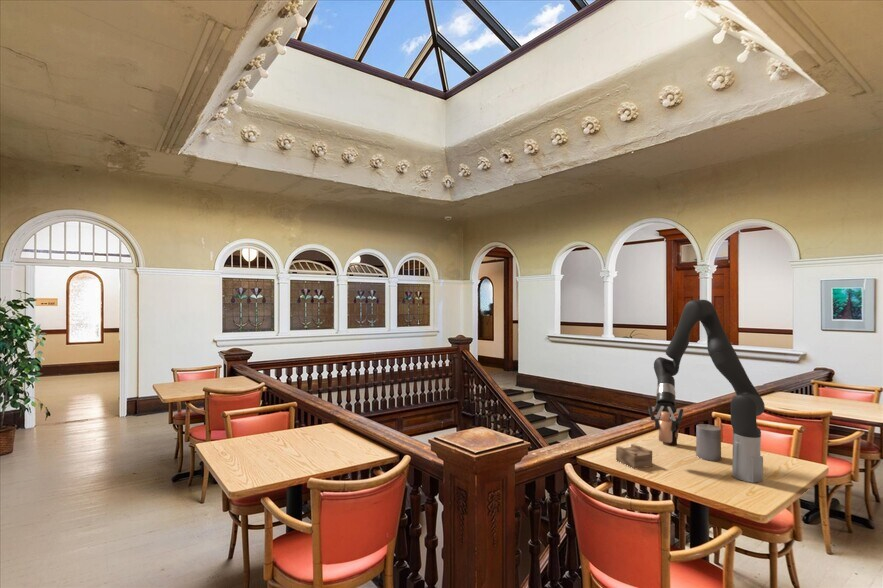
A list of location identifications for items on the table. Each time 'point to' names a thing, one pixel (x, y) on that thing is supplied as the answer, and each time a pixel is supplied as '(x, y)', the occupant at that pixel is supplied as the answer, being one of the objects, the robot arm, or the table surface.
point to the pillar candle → (708, 442)
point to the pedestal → (634, 456)
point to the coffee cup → (674, 436)
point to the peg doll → (665, 427)
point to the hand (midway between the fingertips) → (665, 429)
